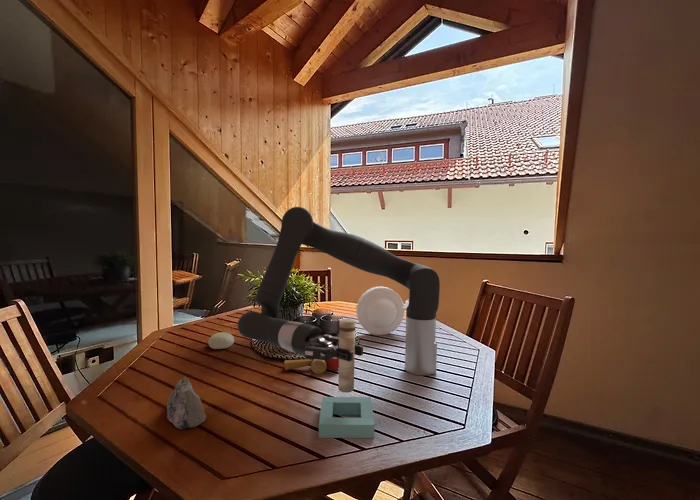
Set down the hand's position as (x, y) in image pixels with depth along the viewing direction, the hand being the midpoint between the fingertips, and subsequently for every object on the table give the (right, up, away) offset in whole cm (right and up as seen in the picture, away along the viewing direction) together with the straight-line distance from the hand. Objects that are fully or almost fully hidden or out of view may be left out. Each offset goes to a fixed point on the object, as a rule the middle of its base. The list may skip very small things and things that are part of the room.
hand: (357, 353), depth 80 cm
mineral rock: (-41, -17, +5) cm, 44 cm away
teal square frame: (-2, -17, +3) cm, 17 cm away
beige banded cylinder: (-3, -9, +2) cm, 9 cm away
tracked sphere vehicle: (+18, -12, +70) cm, 73 cm away
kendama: (-13, -15, +32) cm, 38 cm away
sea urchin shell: (-50, -13, +52) cm, 73 cm away
